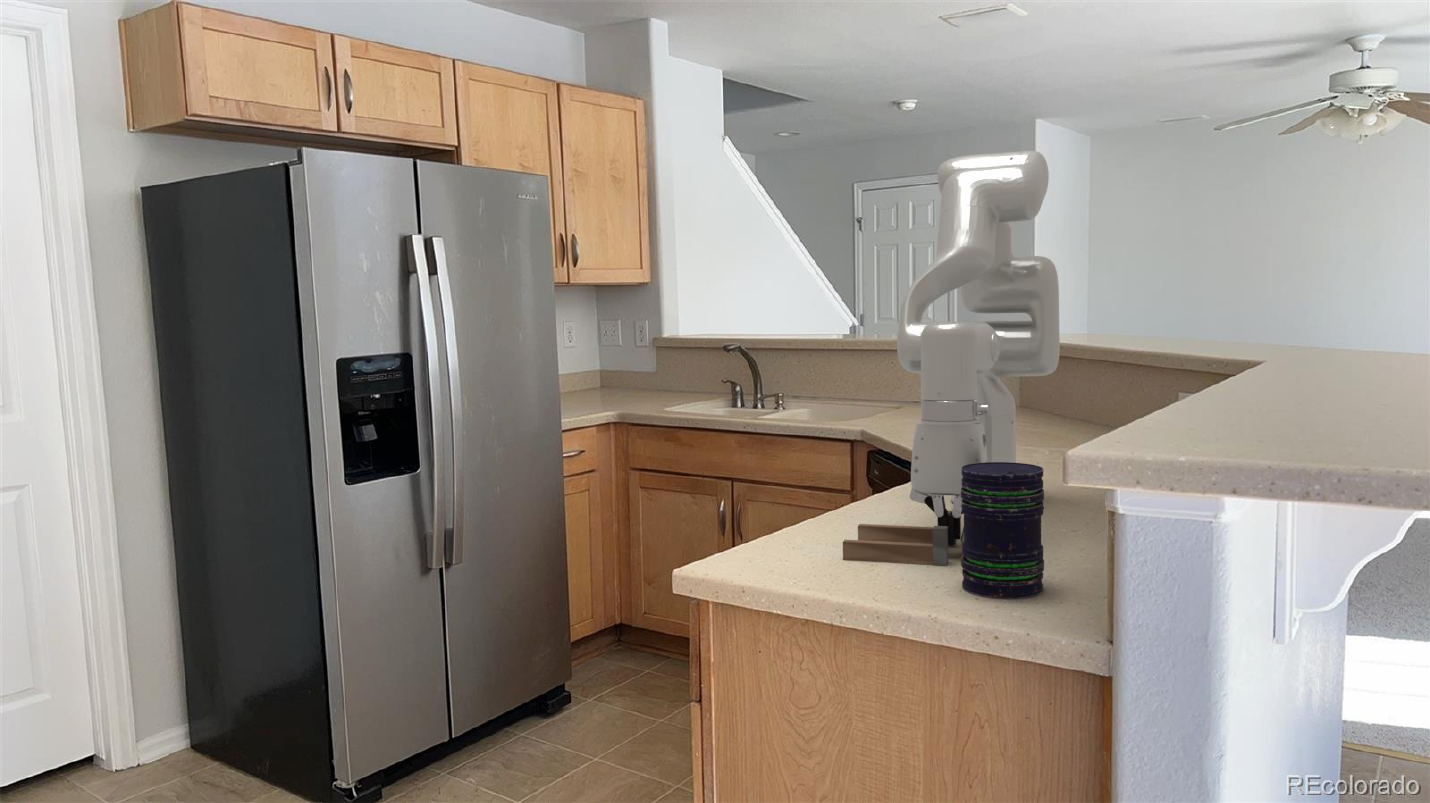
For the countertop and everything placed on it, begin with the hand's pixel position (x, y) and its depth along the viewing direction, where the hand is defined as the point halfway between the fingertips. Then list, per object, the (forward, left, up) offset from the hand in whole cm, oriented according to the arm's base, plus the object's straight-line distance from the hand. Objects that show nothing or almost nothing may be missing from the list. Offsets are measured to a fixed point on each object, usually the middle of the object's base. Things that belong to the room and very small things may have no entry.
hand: (949, 543), depth 140 cm
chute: (-1, -7, -2) cm, 7 cm away
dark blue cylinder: (+14, +8, -2) cm, 16 cm away
